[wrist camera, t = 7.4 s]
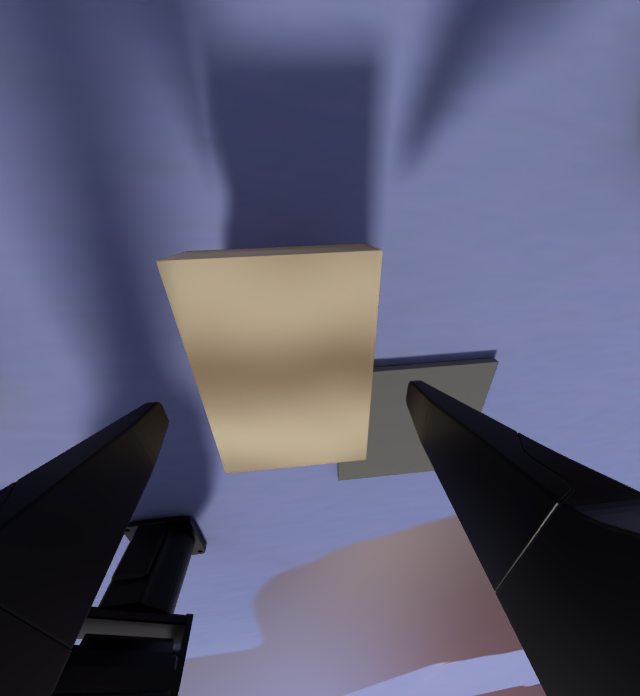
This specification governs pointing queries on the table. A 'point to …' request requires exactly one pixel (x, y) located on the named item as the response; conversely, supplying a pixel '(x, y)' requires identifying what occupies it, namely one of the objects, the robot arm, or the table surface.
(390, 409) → the mat
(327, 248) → the cover
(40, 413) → the table surface
